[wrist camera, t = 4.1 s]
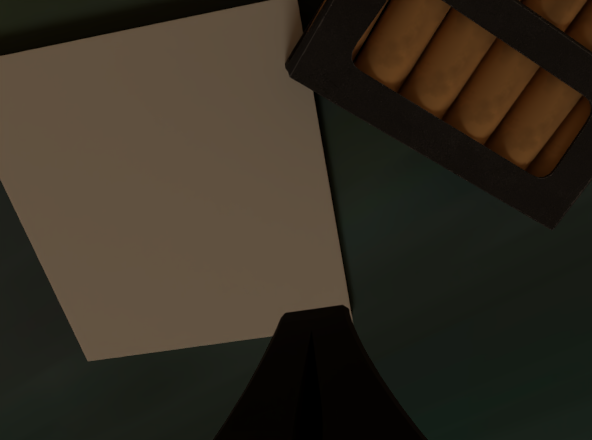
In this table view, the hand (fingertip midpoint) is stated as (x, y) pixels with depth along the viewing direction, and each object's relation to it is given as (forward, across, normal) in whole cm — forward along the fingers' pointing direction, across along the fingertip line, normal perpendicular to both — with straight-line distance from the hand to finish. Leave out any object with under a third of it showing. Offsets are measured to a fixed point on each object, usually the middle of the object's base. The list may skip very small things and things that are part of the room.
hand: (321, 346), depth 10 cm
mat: (+9, +6, 0) cm, 11 cm away
